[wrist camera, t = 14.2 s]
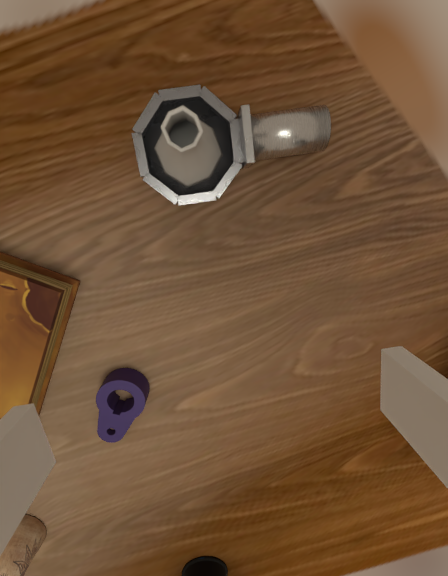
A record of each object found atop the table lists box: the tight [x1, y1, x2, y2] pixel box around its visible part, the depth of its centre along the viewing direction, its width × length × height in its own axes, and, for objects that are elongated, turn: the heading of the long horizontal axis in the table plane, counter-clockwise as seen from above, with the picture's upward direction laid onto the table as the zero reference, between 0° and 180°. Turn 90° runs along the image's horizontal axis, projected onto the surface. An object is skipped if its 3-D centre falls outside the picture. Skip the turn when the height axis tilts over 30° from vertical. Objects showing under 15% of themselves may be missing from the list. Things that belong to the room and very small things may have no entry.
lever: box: [96, 368, 149, 442], centre depth 40 cm, size 12×6×3 cm, turn 159°
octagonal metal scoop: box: [132, 85, 331, 205], centre depth 31 cm, size 20×11×4 cm, turn 98°
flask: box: [154, 105, 223, 188], centre depth 27 cm, size 7×7×10 cm
